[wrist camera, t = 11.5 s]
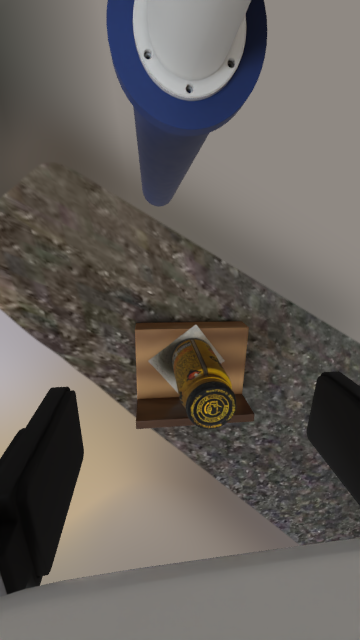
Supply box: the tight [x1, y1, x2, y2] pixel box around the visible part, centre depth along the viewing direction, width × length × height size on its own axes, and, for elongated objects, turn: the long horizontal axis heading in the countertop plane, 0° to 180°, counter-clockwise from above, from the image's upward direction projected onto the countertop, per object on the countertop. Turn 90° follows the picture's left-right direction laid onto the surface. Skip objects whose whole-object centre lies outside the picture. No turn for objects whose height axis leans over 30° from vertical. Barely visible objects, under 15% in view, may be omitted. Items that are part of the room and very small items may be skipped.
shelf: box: [135, 321, 254, 429], centre depth 36 cm, size 12×16×8 cm
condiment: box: [148, 325, 237, 429], centre depth 31 cm, size 7×8×12 cm
